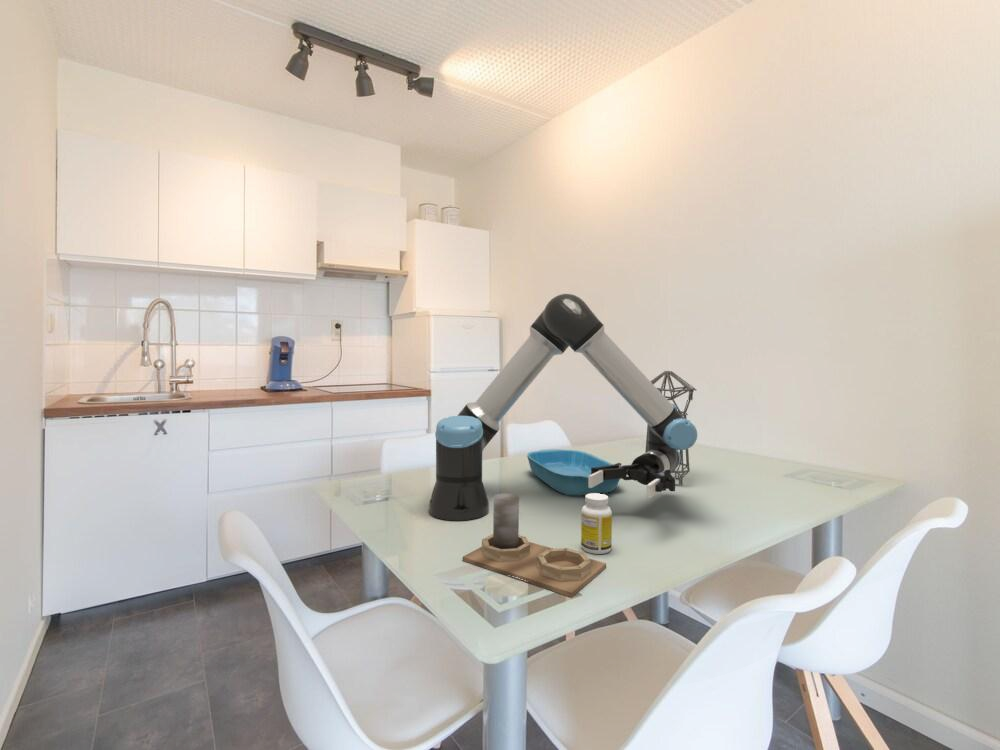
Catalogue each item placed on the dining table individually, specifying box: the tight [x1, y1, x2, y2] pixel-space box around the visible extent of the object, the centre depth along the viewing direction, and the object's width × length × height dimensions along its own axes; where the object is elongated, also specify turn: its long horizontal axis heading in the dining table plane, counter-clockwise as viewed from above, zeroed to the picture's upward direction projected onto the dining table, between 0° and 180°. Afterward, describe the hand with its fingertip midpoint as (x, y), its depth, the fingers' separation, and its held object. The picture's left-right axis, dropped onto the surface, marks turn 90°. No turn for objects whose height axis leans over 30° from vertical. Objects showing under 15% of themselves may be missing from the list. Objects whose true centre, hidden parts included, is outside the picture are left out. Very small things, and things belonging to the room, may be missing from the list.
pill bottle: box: [580, 493, 613, 555], centre depth 101 cm, size 6×6×11 cm
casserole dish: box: [526, 448, 621, 497], centre depth 152 cm, size 37×22×7 cm, turn 17°
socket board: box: [462, 492, 607, 598], centre depth 93 cm, size 24×14×12 cm, turn 54°
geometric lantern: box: [645, 370, 697, 486], centre depth 154 cm, size 16×16×35 cm
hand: (618, 486), depth 108 cm, fingers open, 13 cm apart
